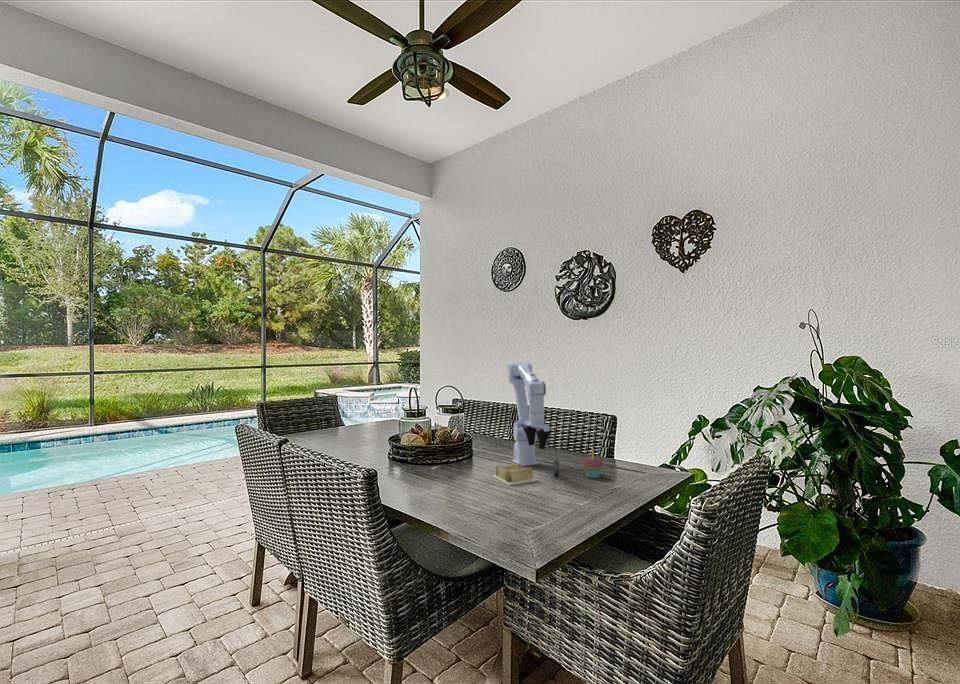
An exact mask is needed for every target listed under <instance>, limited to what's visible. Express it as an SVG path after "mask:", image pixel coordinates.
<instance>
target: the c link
mask: <svg viewBox="0 0 960 684" xmlns="http://www.w3.org/2000/svg"><path fill="white" fill-rule="evenodd" d="M495 475H496V476H497V477H499V478H501V479H502V480H504V481H506V482H512V481H518V480H525V479H531V478H534V469H533V468H532V467H527V468H524V466H523V464H521V463H518V464H517V463H513V464H505V465H499V466H498V465H497V466H495Z"/></svg>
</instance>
